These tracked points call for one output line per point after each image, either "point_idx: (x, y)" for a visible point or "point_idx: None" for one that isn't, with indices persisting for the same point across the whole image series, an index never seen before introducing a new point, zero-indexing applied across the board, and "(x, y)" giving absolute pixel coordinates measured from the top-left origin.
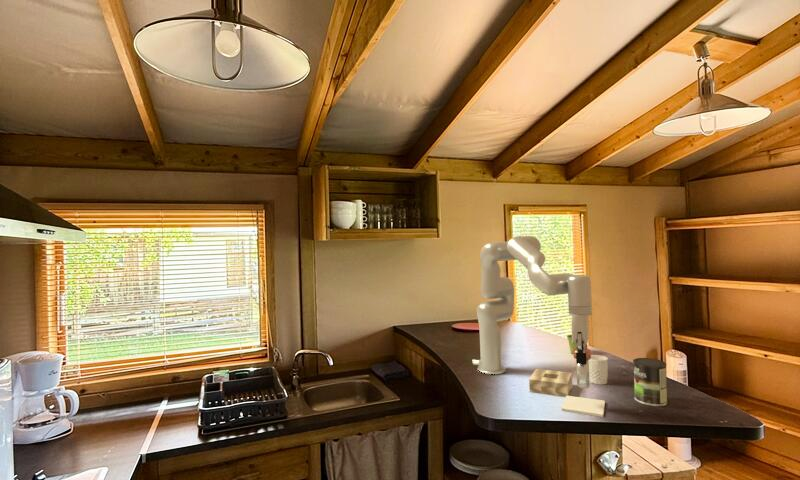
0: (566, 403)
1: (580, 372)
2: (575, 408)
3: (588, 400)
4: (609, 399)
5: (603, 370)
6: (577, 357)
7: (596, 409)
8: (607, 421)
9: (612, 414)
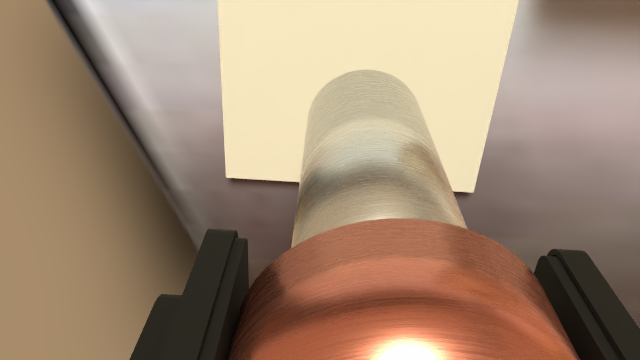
0: None
1: (300, 182)
2: (256, 9)
3: (452, 95)
4: (541, 209)
5: None
6: (180, 324)
7: (296, 144)
8: (176, 188)
9: (292, 214)
